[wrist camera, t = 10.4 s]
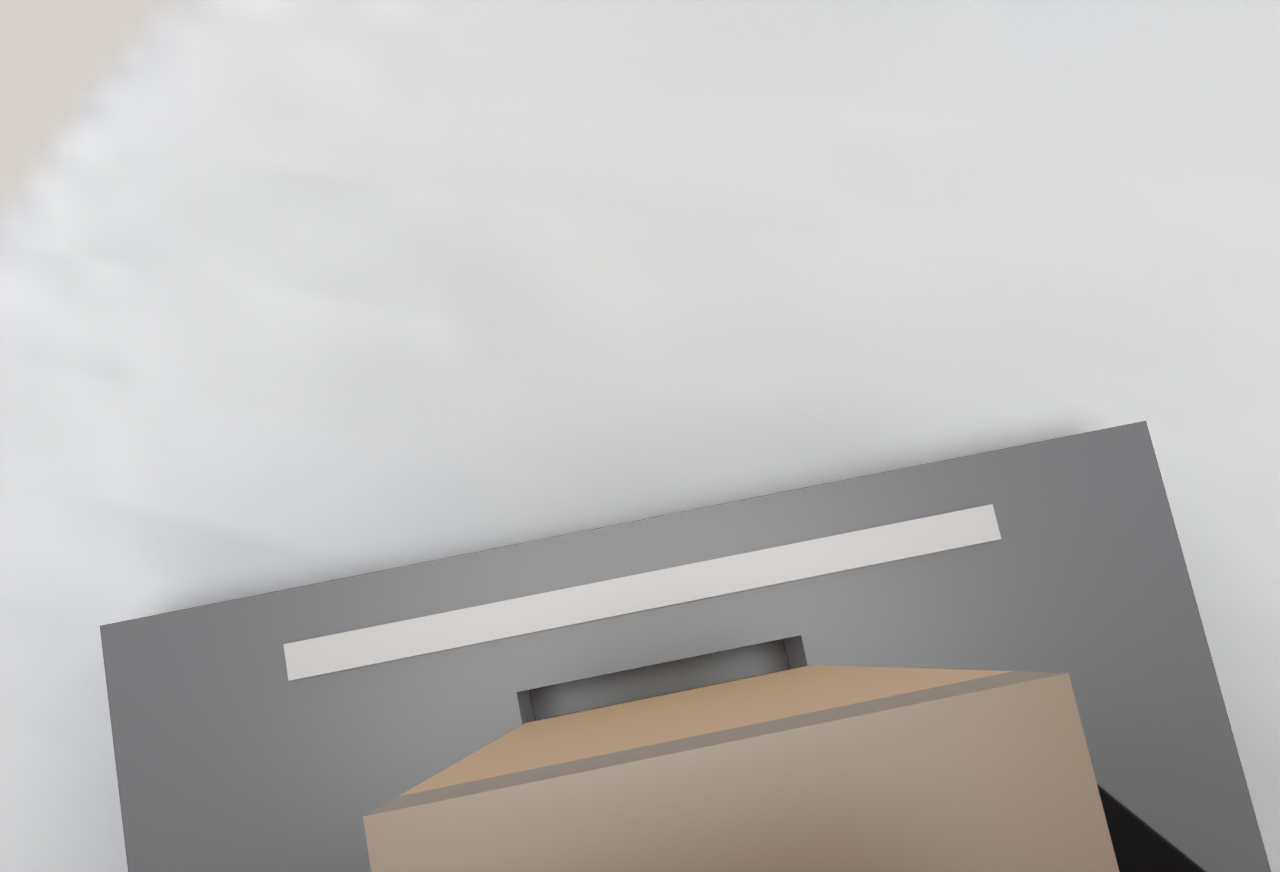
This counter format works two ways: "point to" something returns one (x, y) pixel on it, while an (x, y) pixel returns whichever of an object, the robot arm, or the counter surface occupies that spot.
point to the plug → (774, 782)
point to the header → (682, 648)
